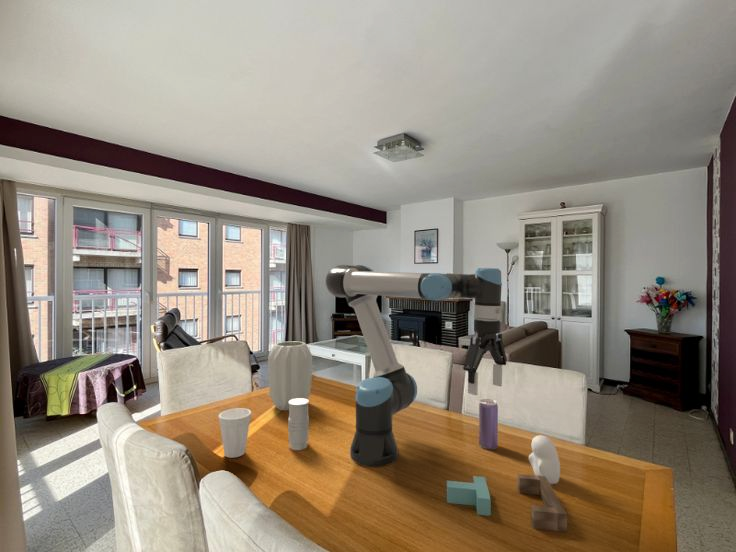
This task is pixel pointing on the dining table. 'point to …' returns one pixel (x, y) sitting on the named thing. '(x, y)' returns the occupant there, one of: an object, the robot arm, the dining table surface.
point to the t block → (470, 494)
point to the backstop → (553, 510)
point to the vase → (289, 372)
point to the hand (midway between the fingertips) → (485, 389)
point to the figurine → (545, 459)
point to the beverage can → (488, 424)
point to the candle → (298, 423)
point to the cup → (234, 431)
